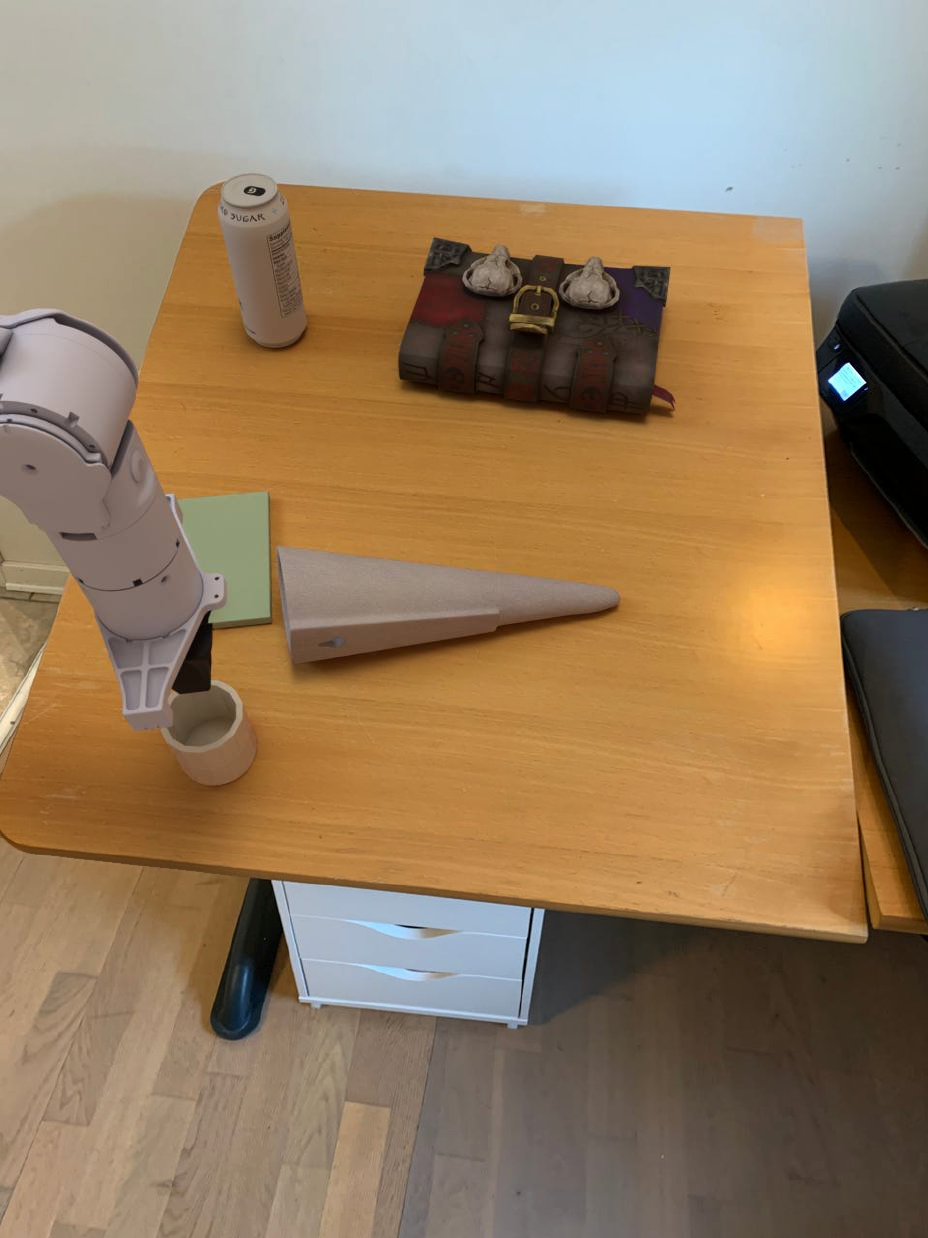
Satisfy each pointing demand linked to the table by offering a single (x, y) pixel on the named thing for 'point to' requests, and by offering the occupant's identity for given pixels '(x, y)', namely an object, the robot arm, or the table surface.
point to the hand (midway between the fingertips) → (194, 679)
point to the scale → (234, 552)
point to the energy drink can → (262, 259)
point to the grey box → (409, 602)
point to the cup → (211, 734)
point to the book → (537, 329)
